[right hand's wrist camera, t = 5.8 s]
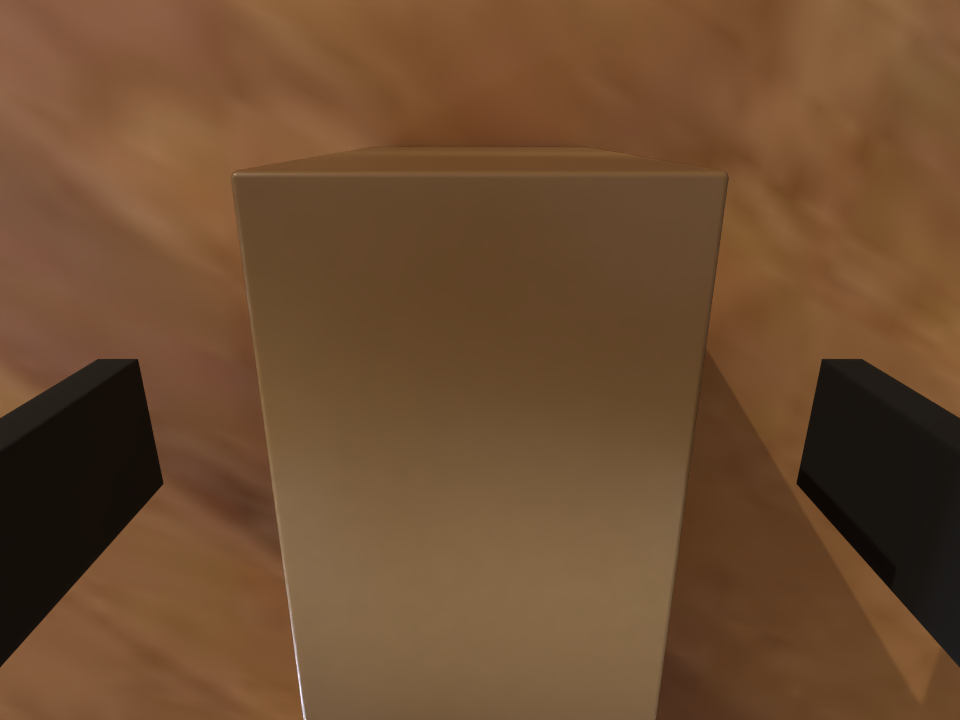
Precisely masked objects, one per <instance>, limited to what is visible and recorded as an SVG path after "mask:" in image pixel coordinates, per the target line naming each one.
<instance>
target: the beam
mask: <svg viewBox="0 0 960 720" xmlns="http://www.w3.org/2000/svg"><path fill="white" fill-rule="evenodd" d="M231 182H232V190H233V197H234V205H235V212H236V220H237V227H238V235H239V242H240V249H241V257H242V264H243V272H244V279H245V287H246V294H247V302H248V309H249V316H250V324H251V331H252V339H253V346H254V354H255V361H256V369H257V376H258V383H259V391H260V398H261V406H262V413H263V421H264V428H265V436H266V443H267V450H268V458H269V465H270V473H271V480H272V488H273V495H274V503H275V510H276V517H277V525H278V532H279V540H280V547H281V555H282V562H283V570H284V577H285V584H286V592H287V599H288V607H289V614H290V622H291V629H292V637H293V644H294V651H295V659H296V666H297V674H298V681H299V689H300V696H301V704H302V711H303V719H304V720H656V715H657V708H658V700H659V693H660V685H661V678H662V670H663V663H664V655H665V648H666V640H667V633H668V626H669V618H670V611H671V603H672V596H673V588H674V581H675V573H676V566H677V558H678V551H679V543H680V536H681V529H682V521H683V514H684V506H685V499H686V491H687V484H688V476H689V469H690V461H691V454H692V446H693V439H694V432H695V424H696V417H697V409H698V402H699V394H700V387H701V379H702V372H703V364H704V357H705V349H706V342H707V335H708V327H709V320H710V312H711V305H712V297H713V290H714V282H715V275H716V267H717V260H718V252H719V245H720V238H721V230H722V223H723V215H724V208H725V200H726V193H727V185H728V174H727V172H725V171H723V170H718V169H712V168H706V167H700V166H694V165H688V164H682V163H677V162H671V161H665V160H659V159H653V158H647V157H641V156H636V155H630V154H624V153H618V152H612V151H606V150H600V149H594V148H589V147H369V148H363V149H357V150H351V151H346V152H340V153H334V154H328V155H323V156H317V157H311V158H305V159H300V160H294V161H288V162H282V163H277V164H271V165H265V166H260V167H254V168H248V169H242V170H237V171H235V172H233V173H232V176H231Z"/></svg>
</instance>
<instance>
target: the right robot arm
mask: <svg viewBox="0 0 960 720" xmlns="http://www.w3.org/2000/svg"><path fill="white" fill-rule="evenodd" d="M162 485H163V479H162V474H161V469H160V464H159V460H158V455H157V450H156V445H155V440H154V435H153V430H152V425H151V421H150V416H149V411H148V406H147V401H146V396H145V391H144V386H143V382H142V377H141V372H140V367H139V362H138V359H97V360H96V361H94V362H92V363H91V364H89V365H87V366H86V367H84V368H83V369H81V370H79V371H78V372H76V373H74V374H73V375H71V376H69V377H68V378H66V379H64V380H63V381H61V382H59V383H58V384H56V385H54V386H53V387H51V388H50V389H48V390H46V391H45V392H43V393H41V394H40V395H38V396H36V397H35V398H33V399H31V400H30V401H28V402H26V403H25V404H23V405H21V406H20V407H18V408H16V409H15V410H13V411H12V412H10V413H8V414H7V415H5V416H3V417H2V418H0V667H1V666H2V665H3V664H4V663H5V661H6V660H7V659H8V658H9V657H10V656H11V655H12V654H13V652H14V651H15V650H16V649H17V648H18V647H19V646H20V645H21V643H22V642H23V641H24V640H25V639H26V638H27V637H28V636H29V634H30V633H31V632H32V631H33V630H34V629H35V628H36V627H37V625H38V624H39V623H40V622H41V621H42V620H43V619H44V618H45V616H46V615H47V614H48V613H49V612H50V611H51V610H52V609H53V607H54V606H55V605H56V604H57V603H58V602H59V601H60V600H61V598H62V597H63V596H64V595H65V594H66V593H67V592H68V591H69V589H70V588H71V587H72V586H73V585H74V584H75V583H76V582H77V580H78V579H79V578H80V577H81V576H82V575H83V574H84V573H85V571H86V570H87V569H88V568H89V567H90V566H91V565H92V564H93V562H94V561H95V560H96V559H97V558H98V557H99V556H100V555H101V553H102V552H103V551H104V550H105V549H106V548H107V547H108V546H109V544H110V543H111V542H112V541H113V540H114V539H115V538H116V537H117V535H118V534H119V533H120V532H121V531H122V530H123V529H124V528H125V527H126V525H127V524H128V523H129V522H130V521H131V520H132V519H133V518H134V516H135V515H136V514H137V513H138V512H139V511H140V510H141V509H142V507H143V506H144V505H145V504H146V503H147V502H148V501H149V500H150V498H151V497H152V496H153V495H154V494H155V493H156V492H157V491H158V489H159V488H160V487H161V486H162ZM797 485H798V486H799V487H800V488H801V489H802V491H803V492H804V493H805V494H806V495H807V496H808V497H809V498H810V500H811V501H812V502H813V503H814V504H815V505H816V506H817V507H818V509H819V510H820V511H821V512H822V513H823V514H824V515H825V516H826V518H827V519H828V520H829V521H830V522H831V523H832V524H833V525H834V527H835V528H836V529H837V530H838V531H839V532H840V533H841V534H842V535H843V537H844V538H845V539H846V540H847V541H848V542H849V543H850V544H851V546H852V547H853V548H854V549H855V550H856V551H857V552H858V553H859V555H860V556H861V557H862V558H863V559H864V560H865V561H866V562H867V564H868V565H869V566H870V567H871V568H872V569H873V570H874V571H875V573H876V574H877V575H878V576H879V577H880V578H881V579H882V580H883V582H884V583H885V584H886V585H887V586H888V587H889V588H890V589H891V591H892V592H893V593H894V594H895V595H896V596H897V597H898V598H899V600H900V601H901V602H902V603H903V604H904V605H905V606H906V607H907V609H908V610H909V611H910V612H911V613H912V614H913V615H914V616H915V618H916V619H917V620H918V621H919V622H920V623H921V624H922V625H923V627H924V628H925V629H926V630H927V631H928V632H929V633H930V634H931V636H932V637H933V638H934V639H935V640H936V641H937V642H938V643H939V645H940V646H941V647H942V648H943V649H944V650H945V651H946V652H947V654H948V655H949V656H950V657H951V658H952V659H953V660H954V661H955V663H956V664H957V665H958V666H959V667H960V418H958V417H957V416H955V415H953V414H952V413H950V412H948V411H947V410H945V409H944V408H942V407H940V406H939V405H937V404H935V403H934V402H932V401H930V400H929V399H927V398H925V397H924V396H922V395H920V394H919V393H917V392H915V391H914V390H912V389H910V388H909V387H907V386H906V385H904V384H902V383H901V382H899V381H897V380H896V379H894V378H892V377H891V376H889V375H887V374H886V373H884V372H882V371H881V370H879V369H877V368H876V367H874V366H873V365H871V364H869V363H868V362H866V361H864V360H863V359H822V362H821V367H820V372H819V377H818V382H817V386H816V391H815V396H814V401H813V406H812V411H811V416H810V421H809V425H808V430H807V435H806V440H805V445H804V450H803V455H802V460H801V464H800V469H799V474H798V479H797Z"/></svg>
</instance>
